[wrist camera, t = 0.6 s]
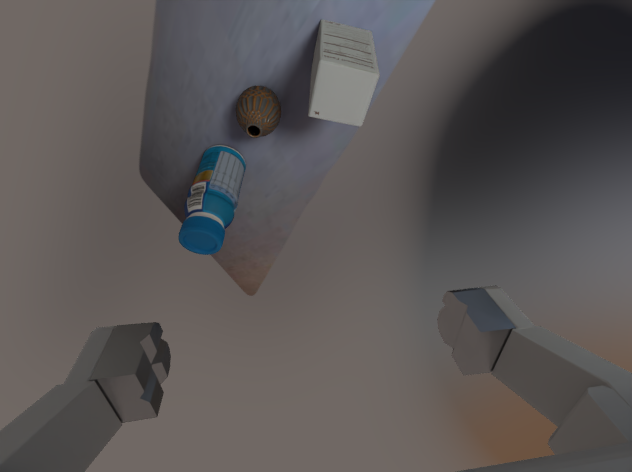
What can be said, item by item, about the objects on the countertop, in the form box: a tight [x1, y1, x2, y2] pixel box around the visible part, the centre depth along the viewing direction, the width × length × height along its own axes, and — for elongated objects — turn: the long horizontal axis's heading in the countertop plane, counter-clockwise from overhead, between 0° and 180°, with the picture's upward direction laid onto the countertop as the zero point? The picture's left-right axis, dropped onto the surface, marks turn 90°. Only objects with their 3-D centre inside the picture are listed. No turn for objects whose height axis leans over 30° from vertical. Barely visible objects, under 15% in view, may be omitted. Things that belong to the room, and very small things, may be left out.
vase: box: [236, 86, 281, 138], centre depth 52 cm, size 7×7×9 cm
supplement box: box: [308, 20, 380, 126], centre depth 44 cm, size 7×7×13 cm
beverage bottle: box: [179, 145, 246, 255], centre depth 58 cm, size 8×8×20 cm
